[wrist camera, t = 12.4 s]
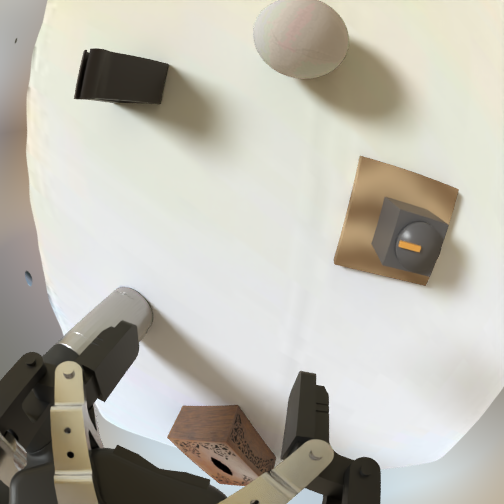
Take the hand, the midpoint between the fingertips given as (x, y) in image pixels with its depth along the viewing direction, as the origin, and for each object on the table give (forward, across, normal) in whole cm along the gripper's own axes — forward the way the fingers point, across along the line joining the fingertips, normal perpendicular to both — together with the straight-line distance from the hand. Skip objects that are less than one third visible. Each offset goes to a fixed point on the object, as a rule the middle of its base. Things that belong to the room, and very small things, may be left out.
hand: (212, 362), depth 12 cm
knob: (+24, -16, -3) cm, 29 cm away
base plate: (+26, -16, -3) cm, 30 cm away
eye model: (+26, 0, -22) cm, 34 cm away
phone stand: (+27, +22, -16) cm, 38 cm away
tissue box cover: (+28, -2, +55) cm, 61 cm away
